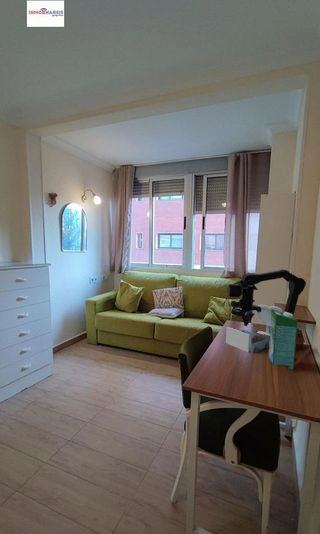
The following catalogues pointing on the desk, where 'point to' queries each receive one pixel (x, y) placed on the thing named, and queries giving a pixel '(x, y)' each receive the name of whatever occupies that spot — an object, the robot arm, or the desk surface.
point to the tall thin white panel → (238, 339)
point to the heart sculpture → (266, 316)
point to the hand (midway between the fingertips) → (245, 325)
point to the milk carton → (282, 338)
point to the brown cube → (256, 339)
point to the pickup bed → (258, 345)
